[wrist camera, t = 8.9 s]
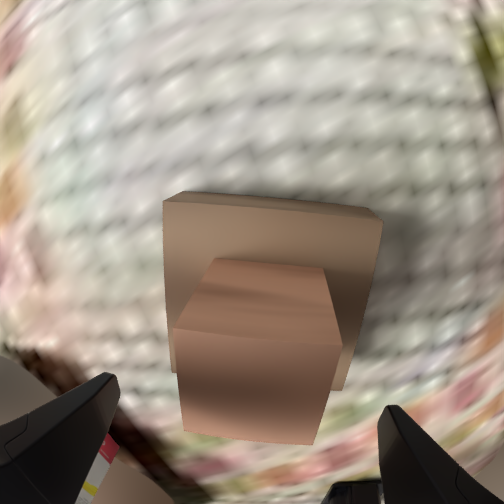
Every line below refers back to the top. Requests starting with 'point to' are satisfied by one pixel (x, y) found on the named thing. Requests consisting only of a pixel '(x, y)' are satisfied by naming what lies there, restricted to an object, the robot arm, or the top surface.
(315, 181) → the top surface
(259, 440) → the terracotta cube
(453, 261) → the top surface
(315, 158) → the top surface
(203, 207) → the tan square slab
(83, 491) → the ink box
